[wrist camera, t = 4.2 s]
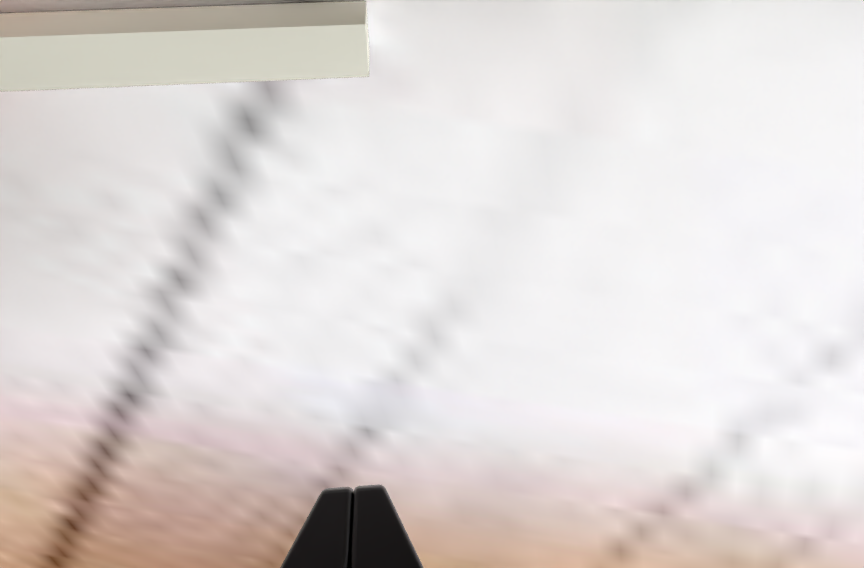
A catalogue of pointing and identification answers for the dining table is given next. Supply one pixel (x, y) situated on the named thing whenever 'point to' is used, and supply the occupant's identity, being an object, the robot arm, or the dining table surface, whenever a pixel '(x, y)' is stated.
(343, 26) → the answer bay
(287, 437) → the dining table surface
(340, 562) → the robot arm
